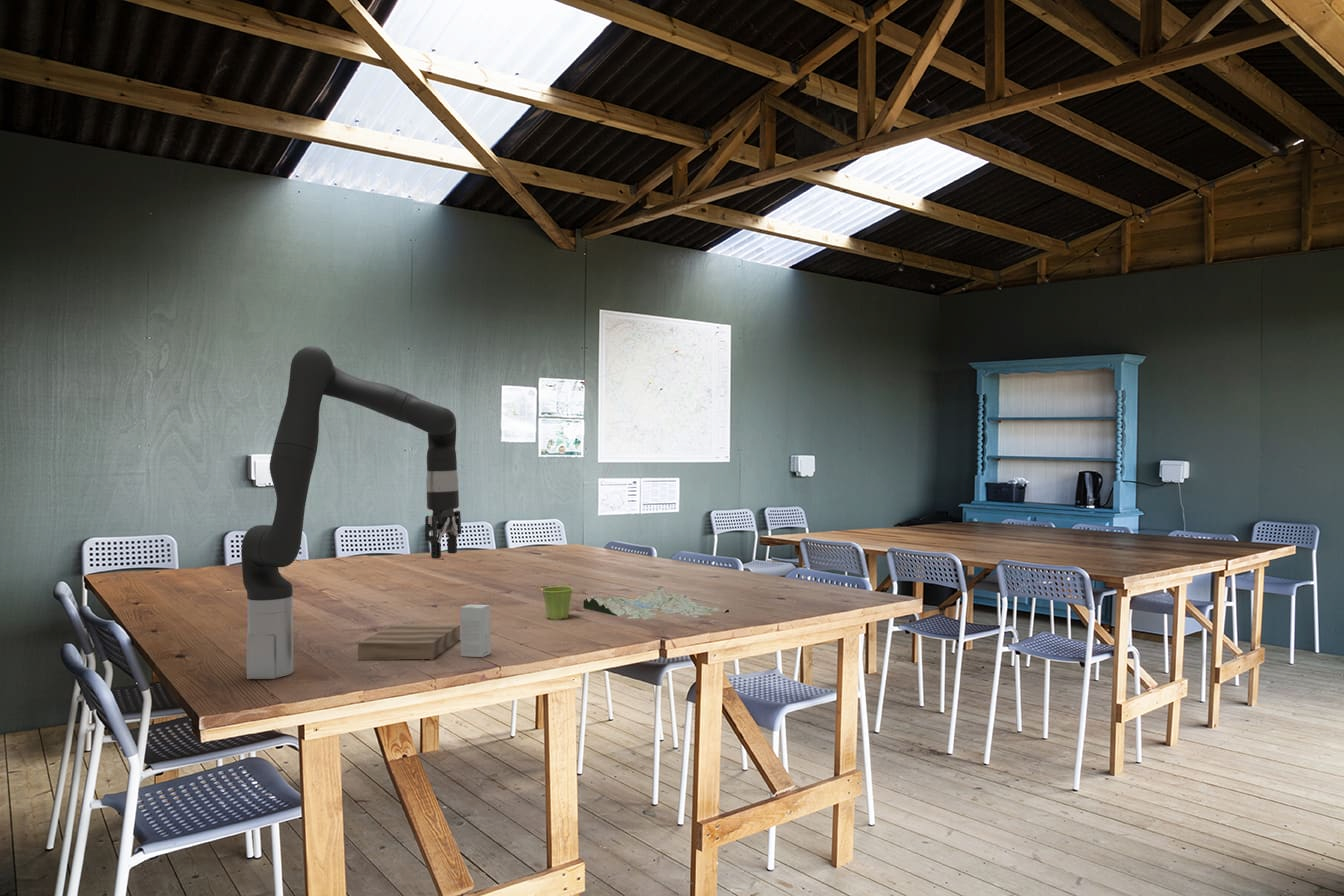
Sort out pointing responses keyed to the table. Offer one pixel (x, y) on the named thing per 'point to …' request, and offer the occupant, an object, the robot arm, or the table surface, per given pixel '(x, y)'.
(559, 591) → the plant pot
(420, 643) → the walnut stand
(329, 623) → the table surface
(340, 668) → the table surface
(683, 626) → the table surface
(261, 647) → the robot arm
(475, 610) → the skincare box
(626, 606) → the topographic map model
